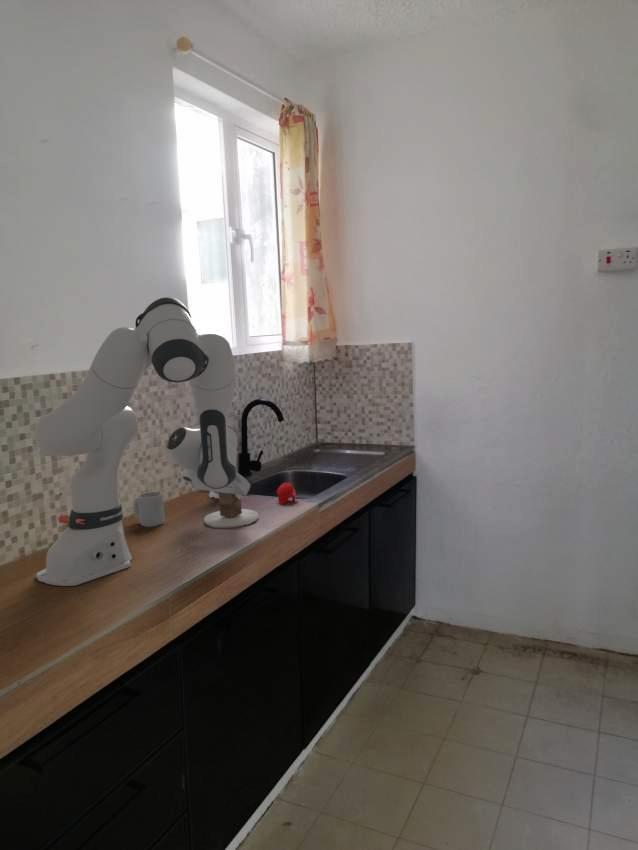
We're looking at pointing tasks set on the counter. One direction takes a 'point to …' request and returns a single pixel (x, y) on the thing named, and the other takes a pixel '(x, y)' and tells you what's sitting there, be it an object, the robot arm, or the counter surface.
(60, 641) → the counter surface
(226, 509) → the walnut block
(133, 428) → the robot arm
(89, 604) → the counter surface
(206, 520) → the plate
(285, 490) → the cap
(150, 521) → the cup
